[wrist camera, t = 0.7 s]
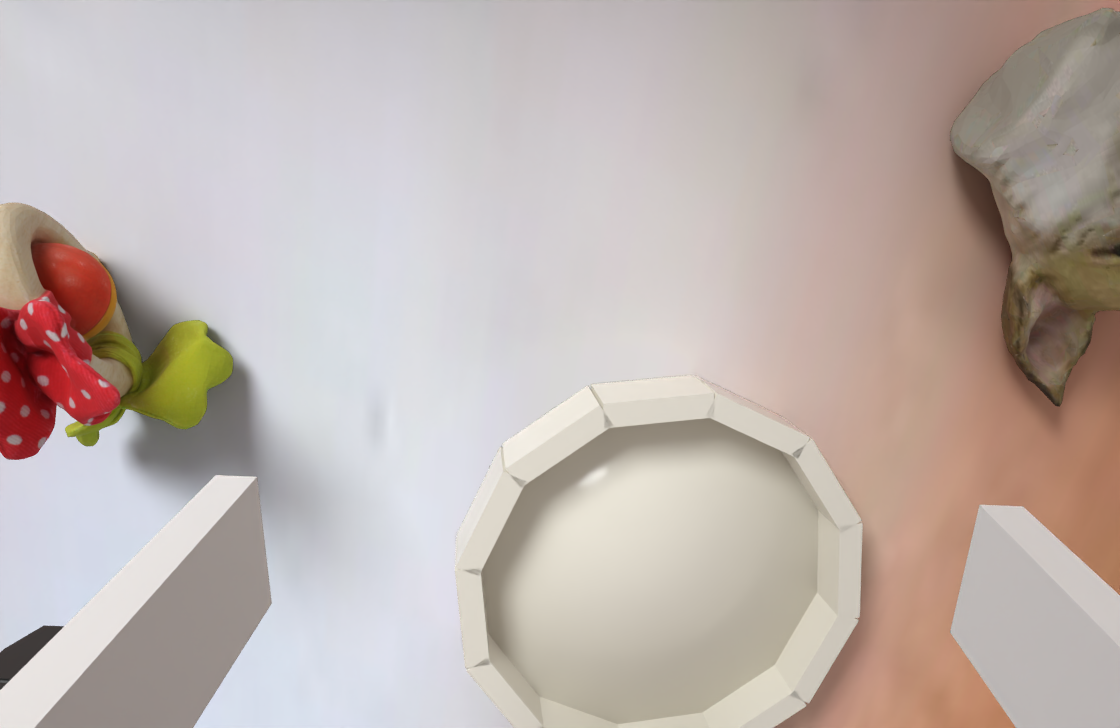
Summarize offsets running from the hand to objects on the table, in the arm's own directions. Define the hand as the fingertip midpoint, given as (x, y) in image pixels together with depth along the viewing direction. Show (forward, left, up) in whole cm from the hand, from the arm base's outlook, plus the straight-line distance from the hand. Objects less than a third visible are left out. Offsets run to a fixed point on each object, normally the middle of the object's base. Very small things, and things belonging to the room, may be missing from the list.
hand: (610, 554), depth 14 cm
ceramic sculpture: (-15, +17, -18) cm, 29 cm away
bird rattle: (+6, -15, -18) cm, 24 cm away
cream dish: (+7, +9, -18) cm, 21 cm away
